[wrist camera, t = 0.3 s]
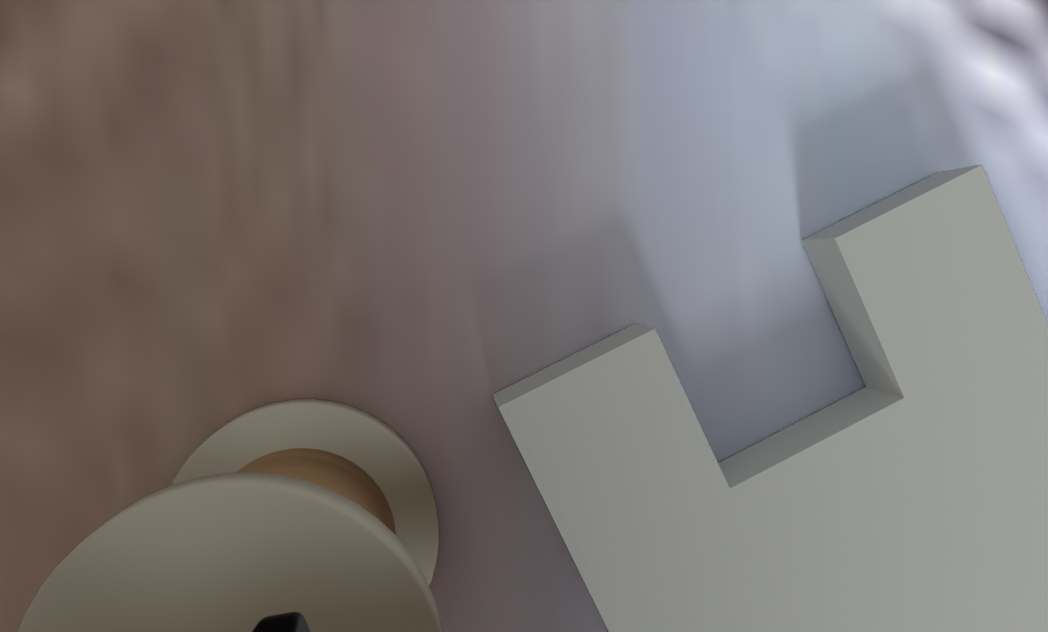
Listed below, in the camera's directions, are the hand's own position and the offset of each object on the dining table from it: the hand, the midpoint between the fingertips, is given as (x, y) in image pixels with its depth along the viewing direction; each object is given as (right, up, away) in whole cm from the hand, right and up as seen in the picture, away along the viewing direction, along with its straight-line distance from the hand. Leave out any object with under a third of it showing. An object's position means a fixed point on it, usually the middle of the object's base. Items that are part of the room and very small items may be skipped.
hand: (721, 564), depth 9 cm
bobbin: (-8, -3, +14) cm, 16 cm away
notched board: (+6, -3, +15) cm, 17 cm away
